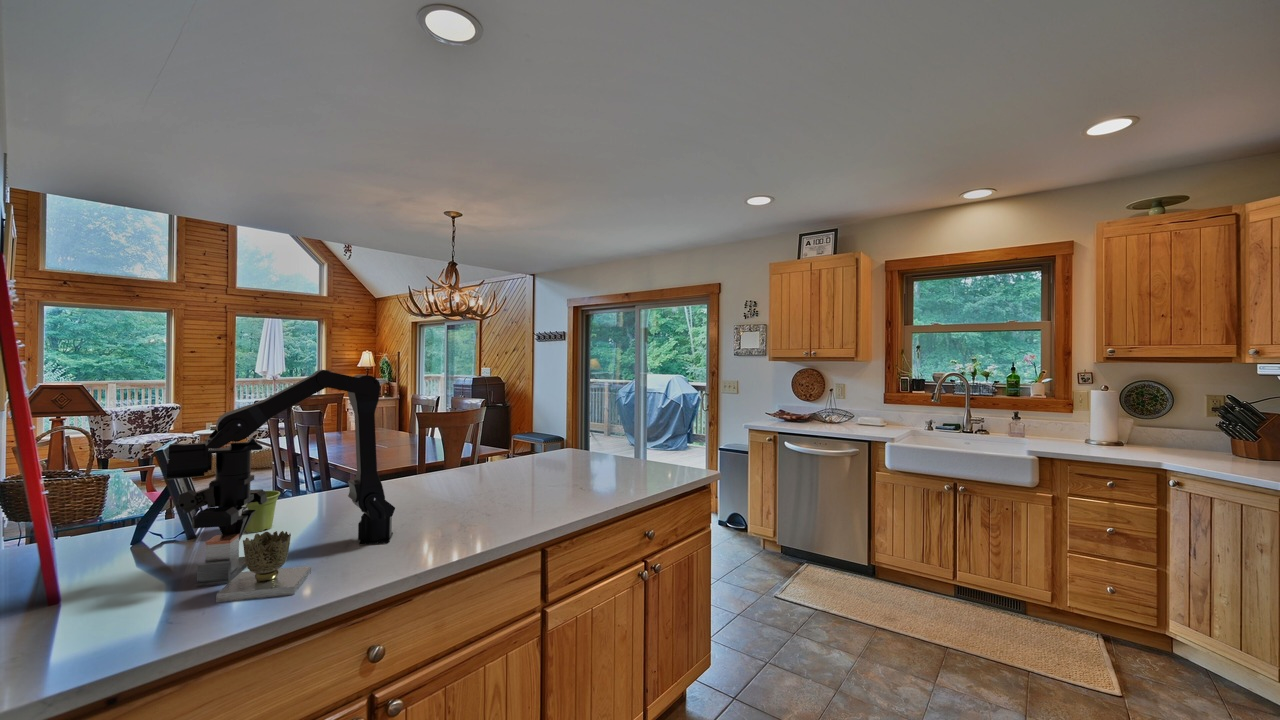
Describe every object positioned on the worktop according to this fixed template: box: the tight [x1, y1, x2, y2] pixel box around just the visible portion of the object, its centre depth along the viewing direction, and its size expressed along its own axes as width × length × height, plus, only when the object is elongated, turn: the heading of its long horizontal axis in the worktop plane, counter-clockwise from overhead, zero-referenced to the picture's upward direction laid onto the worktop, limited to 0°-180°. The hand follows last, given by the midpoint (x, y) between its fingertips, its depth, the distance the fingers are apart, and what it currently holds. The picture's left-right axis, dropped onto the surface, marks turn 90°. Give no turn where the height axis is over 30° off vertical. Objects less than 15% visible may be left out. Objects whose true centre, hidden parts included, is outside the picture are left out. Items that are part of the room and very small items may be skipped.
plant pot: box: [244, 490, 281, 534], centre depth 132 cm, size 9×9×9 cm
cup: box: [242, 530, 292, 581], centre depth 100 cm, size 8×7×8 cm
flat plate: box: [216, 565, 312, 603], centre depth 99 cm, size 12×10×2 cm
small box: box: [204, 534, 240, 572], centre depth 104 cm, size 4×4×7 cm
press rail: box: [196, 556, 248, 587], centre depth 106 cm, size 5×12×4 cm, turn 17°
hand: (231, 549), depth 108 cm, fingers closed
